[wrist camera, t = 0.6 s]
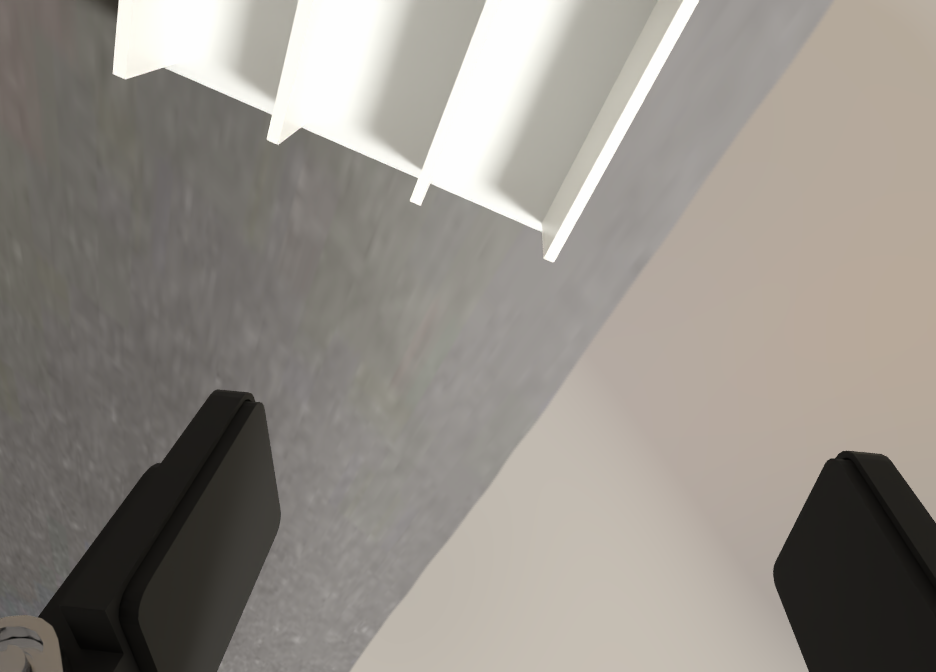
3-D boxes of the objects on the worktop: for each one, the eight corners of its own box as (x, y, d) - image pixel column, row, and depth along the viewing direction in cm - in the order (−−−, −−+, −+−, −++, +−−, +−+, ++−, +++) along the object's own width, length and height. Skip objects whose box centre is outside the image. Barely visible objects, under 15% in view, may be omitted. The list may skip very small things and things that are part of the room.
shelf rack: (224, -273, 27) (146, -331, 22) (682, -34, 30) (716, -32, 25) (177, 63, 35) (111, 84, 29) (546, 224, 38) (549, 270, 33)
